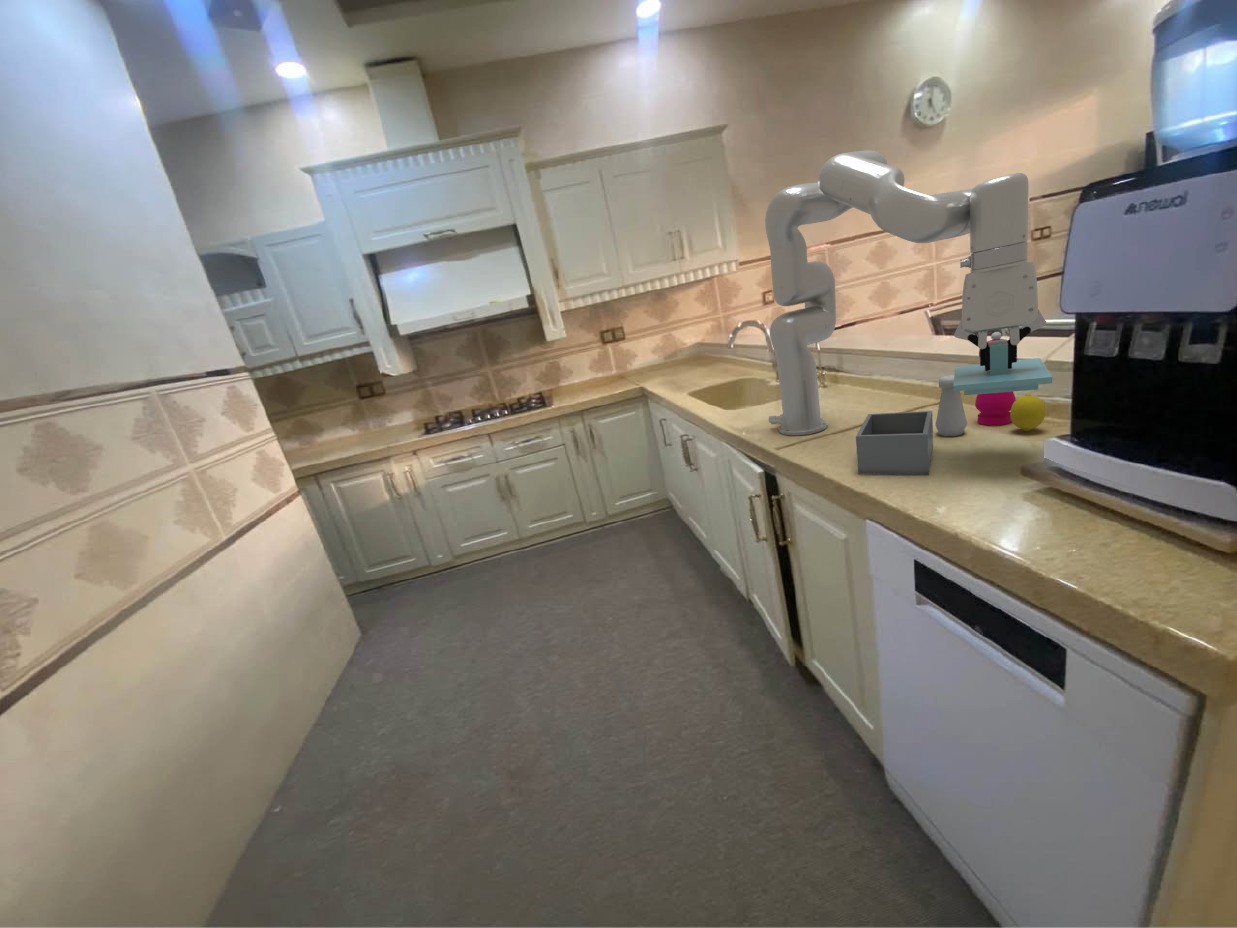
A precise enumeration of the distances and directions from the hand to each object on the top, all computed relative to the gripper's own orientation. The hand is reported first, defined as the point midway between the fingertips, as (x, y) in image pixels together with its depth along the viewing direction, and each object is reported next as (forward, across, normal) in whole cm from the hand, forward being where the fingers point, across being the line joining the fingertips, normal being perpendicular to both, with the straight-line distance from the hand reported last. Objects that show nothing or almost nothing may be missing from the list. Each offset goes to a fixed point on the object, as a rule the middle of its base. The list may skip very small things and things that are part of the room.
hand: (998, 367), depth 87 cm
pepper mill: (+18, 0, +25) cm, 31 cm away
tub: (+17, -17, 0) cm, 24 cm away
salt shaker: (+17, -8, +17) cm, 26 cm away
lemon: (+18, +5, +17) cm, 25 cm away
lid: (+3, 0, 0) cm, 3 cm away
